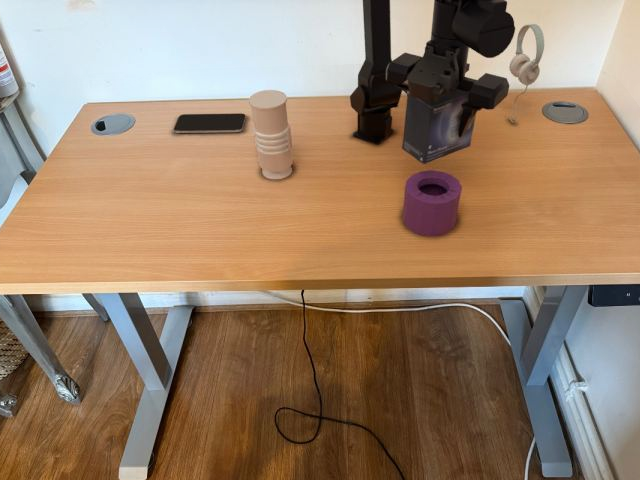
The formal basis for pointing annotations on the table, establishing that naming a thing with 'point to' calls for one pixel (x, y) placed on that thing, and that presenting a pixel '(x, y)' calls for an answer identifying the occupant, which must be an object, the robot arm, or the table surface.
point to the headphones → (527, 59)
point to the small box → (435, 127)
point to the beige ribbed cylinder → (272, 133)
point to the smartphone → (209, 123)
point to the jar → (431, 202)
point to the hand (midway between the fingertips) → (439, 129)
